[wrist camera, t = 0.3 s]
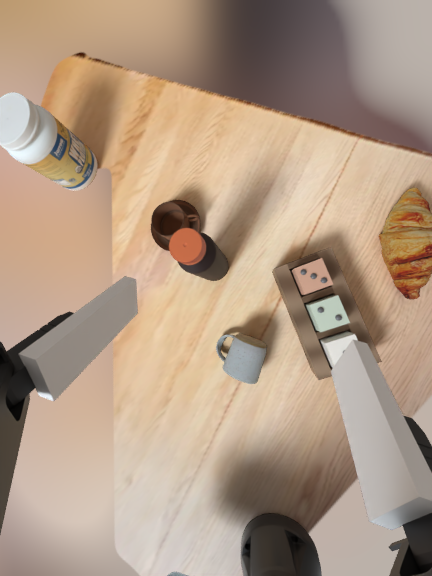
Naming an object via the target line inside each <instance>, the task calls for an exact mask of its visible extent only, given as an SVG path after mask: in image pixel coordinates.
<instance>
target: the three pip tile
mask: <svg viewBox="0 0 432 576" xmlns="http://www.w3.org/2000/svg"><path fill="white" fill-rule="evenodd" d="M291 272H292V274H293V277H294V279H295V281H296V284H297V286H298V289H299V291H300V293H301V295H305V294H308V293H311V292H314V291H316V290H319V289H322V288H325V287H328V286H330V285H333V282H332V280H331V278H330V275H329V273H328V271H327V268H326V266H325V264H324V261H323V259H322V258H321V259H318V260H315V261H313V262H310V263H307V264H305V265H302V266H300V267H297V268H294V269H293V270H292V271H291Z"/></svg>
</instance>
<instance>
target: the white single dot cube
mask: <svg viewBox="0 0 432 576" xmlns="http://www.w3.org/2000/svg"><path fill="white" fill-rule="evenodd" d="M352 340H357V337H356V335H355V334H353V333H351V332H348V331H345V332H342V333H339V334H335V335H332V336H329V337H326V338H323V339H320V342H321V344H322V347H323V349H324V352H325V354H326V356H327V359H328V361H329V364H330V366H331V367H332V368H333V367H334V366H335V364H336V363H337V361H338V360H339V358H340V357H341V356H342V354H343V353H344V351H345V350H346V348H347V347H348V345H349V344H350V343H351V341H352ZM357 341H358V340H357Z"/></svg>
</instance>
